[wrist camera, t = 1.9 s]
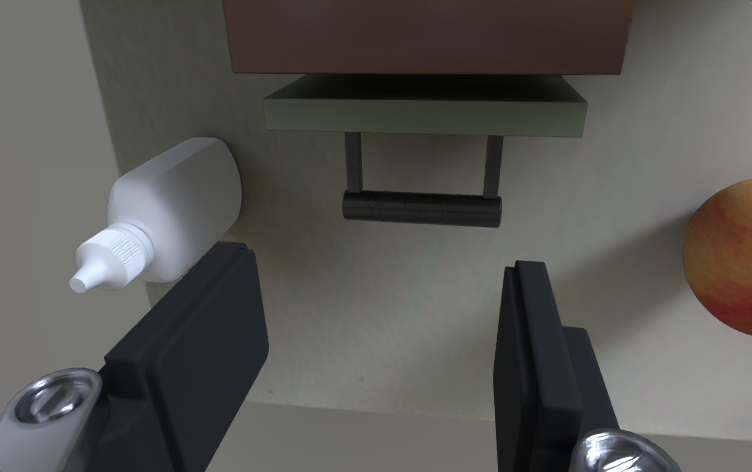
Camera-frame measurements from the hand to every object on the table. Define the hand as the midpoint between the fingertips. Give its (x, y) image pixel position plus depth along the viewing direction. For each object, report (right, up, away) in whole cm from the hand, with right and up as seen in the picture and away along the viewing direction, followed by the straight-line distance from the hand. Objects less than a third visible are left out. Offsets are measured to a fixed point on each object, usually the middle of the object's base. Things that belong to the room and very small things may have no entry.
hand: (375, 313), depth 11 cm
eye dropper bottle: (-10, +5, +19) cm, 22 cm away
